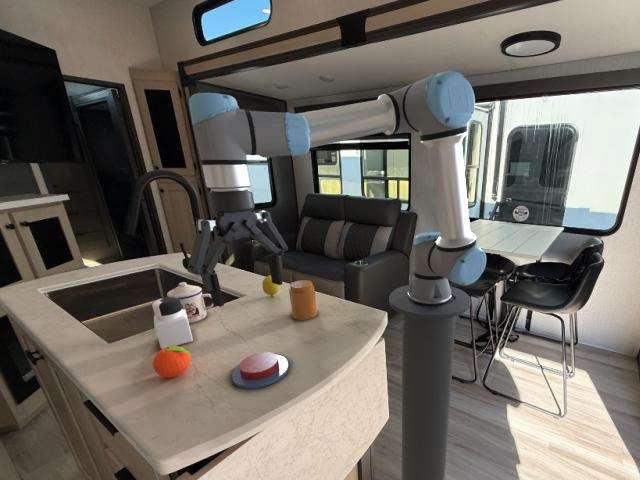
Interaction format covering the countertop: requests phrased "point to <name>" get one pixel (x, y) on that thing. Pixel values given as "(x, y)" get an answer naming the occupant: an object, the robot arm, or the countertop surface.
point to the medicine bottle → (171, 322)
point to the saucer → (262, 382)
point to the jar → (303, 300)
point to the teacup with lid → (191, 301)
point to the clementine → (171, 361)
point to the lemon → (269, 286)
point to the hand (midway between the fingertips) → (250, 293)
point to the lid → (259, 365)
